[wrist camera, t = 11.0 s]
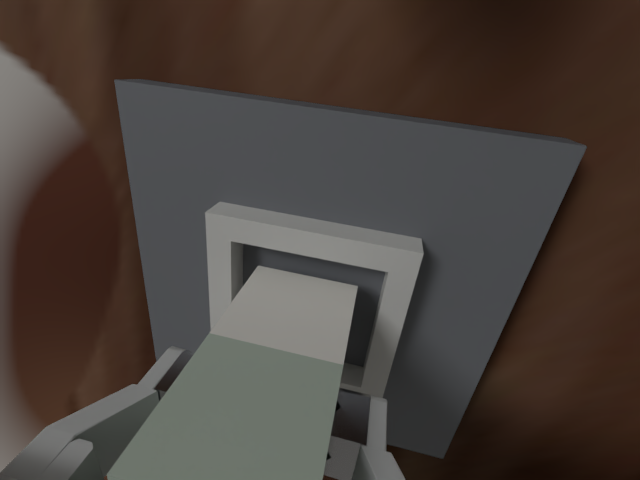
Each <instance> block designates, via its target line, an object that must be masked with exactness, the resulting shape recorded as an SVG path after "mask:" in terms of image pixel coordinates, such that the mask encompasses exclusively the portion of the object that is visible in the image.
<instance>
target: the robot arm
mask: <svg viewBox="0 0 640 480" xmlns="http://www.w3.org/2000/svg"><path fill="white" fill-rule="evenodd" d="M194 353H195V352H193V351H189V350H185V349H182V348H178V347H174V346H172V347H170V348H168V349H167V350H166V351H165V352H164V354H163V355H162V356H161V357H160V358H159V360H158V361H157V362H156V363H155V364H154V365H153V367H152V368H151V369H150V370H149V371H148V373H147V374H146V375H145V376H144V377H143V379H142V380H141V381H140V382H139V383H138V385H135V384H132V385H130V386H128V387H126V388H124V389H122V390H120V391H118V392H116V393H114V394H112V395H110V396H108V397H106V398H103V399H101V400H99V401H97V402H95V403H93V404H91V405H89V406H87V407H85V408H83V409H81V410H79V411H77V412H75V413H73V414H71V415H69V416H67V417H65V418H63V419H61V420H59V421H57V422H55V423H53V424H51V425H49V426H47V427H46V428H44V430H42V431H41V433H39V434H38V435H37V436H36V437H35V438H34V439H33V440H32V442H31V443H30V444H28V445H27V446H26V447H25V448H24V450H22V451H21V452H20V453H19V455H17V457H16V458H14V459H13V461H12V462H11V463H9V464H8V465H7V466H6V468H5V469H3V470H2V472H1V473H0V480H104V476H106V475H107V473H108V472H109V471H110V469H111V468H112V467H113V465H114V464H115V462H116V461H117V460H118V458H119V457H120V455H121V454H122V453H123V451H124V450H125V449H126V447H127V446H128V444H129V443H130V442H131V440H132V439H133V438H134V436H135V435H136V433H137V432H138V431H139V429H140V428H141V427H142V425H143V424H144V422H145V421H146V420H147V418H148V417H149V415H150V414H151V413H152V411H153V410H154V409H155V407H156V406H157V404H158V403H159V402H160V400H161V399H162V398H163V396H164V395H165V393H166V392H167V391H168V389H169V388H170V386H171V385H172V384H173V382H174V381H175V380H176V378H177V377H178V375H179V374H180V373H181V371H182V370H183V369H184V367H185V366H186V364H187V363H188V362H189V360H190V359H191V357H192V356H193V355H194ZM387 406H388V402H387V399H384V398H380V397H376V396H372V395H369V394H365V393H360V392H356V391H352V390H347V389H343V388H339V392H338V398H337V403H336V409H335V414H334V420H333V425H332V430H331V436H330V441H329V447H328V452H327V458H326V463H325V469H324V474H323V475H326V476H329V477H332V478H335V479H339V480H406V479H405V477H404V476H403V474H402V472H401V470H400V468H399V466H398V464H397V462H396V461H395V459H394V457H393V455H392V453H390V452H387V451H386V446H387Z"/></svg>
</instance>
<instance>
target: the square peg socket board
mask: <svg viewBox="0 0 640 480" xmlns="http://www.w3.org/2000/svg"><path fill="white" fill-rule="evenodd" d="M114 81H115V88H116V94H117V101H118V108H119V114H120V121H121V128H122V135H123V141H124V148H125V155H126V161H127V168H128V175H129V181H130V188H131V195H132V201H133V208H134V215H135V221H136V228H137V235H138V241H139V248H140V255H141V262H142V268H143V275H144V282H145V288H146V295H147V302H148V308H149V315H150V322H151V328H152V335H153V342H154V348H155V355H156V362H157V361H158V360H159V358H160V357H161V356H162V355H163V354H164V352H165V351H166V350H167V349H168V348H170V347H172V346H174V347H178V348H182V349H185V350H189V351H193V352H196V351H197V349H198V348H199V346H200V345H201V344H202V342H203V341H204V340H205V338H206V337H207V335H208V334H209V333H210V331H211V330H212V328H213V327H214V326H215V324H216V323H217V322H218V320H219V319H220V317H221V316H222V315H223V313H224V312H225V311H226V309H227V308H228V306H229V305H230V304H231V302H232V301H233V300H234V298H235V297H236V295H237V294H238V293H239V291H240V290H241V288H242V287H243V286H244V284H245V283H246V282H247V280H248V279H249V277H250V276H251V275H252V273H253V272H254V271H255V269H256V268H257V266H263V267H268V268H273V269H278V270H283V271H287V272H292V273H297V274H302V275H307V276H312V277H317V278H321V279H326V280H331V281H336V282H341V283H346V284H351V285H355V286H358V288H357V294H356V299H355V305H354V310H353V316H352V321H351V327H350V332H349V337H348V343H347V348H346V354H345V359H344V365H343V370H342V376H341V381H340V387H339V388H343V389H347V390H352V391H356V392H360V393H365V394H369V395H372V396H376V397H380V398H384V399H387V402H388V406H387V444H388V445H392V446H396V447H400V448H403V449H407V450H411V451H415V452H419V453H422V454H426V455H430V456H434V457H438V458H441V459H443V458H444V456H445V454H446V451H447V449H448V447H449V445H450V443H451V441H452V438H453V436H454V434H455V432H456V430H457V427H458V425H459V423H460V421H461V419H462V417H463V414H464V412H465V410H466V408H467V406H468V404H469V401H470V399H471V397H472V395H473V393H474V391H475V388H476V386H477V384H478V382H479V380H480V378H481V375H482V373H483V371H484V369H485V367H486V365H487V362H488V360H489V358H490V356H491V354H492V352H493V349H494V347H495V345H496V343H497V341H498V339H499V336H500V334H501V332H502V330H503V328H504V325H505V323H506V321H507V319H508V317H509V315H510V312H511V310H512V308H513V306H514V304H515V302H516V299H517V297H518V295H519V293H520V291H521V289H522V286H523V284H524V282H525V280H526V278H527V276H528V273H529V271H530V269H531V267H532V265H533V263H534V260H535V258H536V256H537V254H538V252H539V250H540V247H541V245H542V243H543V241H544V239H545V237H546V234H547V232H548V230H549V228H550V226H551V223H552V221H553V219H554V217H555V215H556V213H557V210H558V208H559V206H560V204H561V202H562V200H563V197H564V195H565V193H566V191H567V189H568V187H569V184H570V182H571V180H572V178H573V176H574V174H575V171H576V169H577V167H578V165H579V163H580V161H581V158H582V156H583V154H584V152H585V150H586V148H587V146H585V145H583V144H580V143H577V142H575V141H572V140H569V139H567V138H561V137H554V136H547V135H539V134H532V133H525V132H518V131H511V130H503V129H496V128H489V127H482V126H475V125H467V124H460V123H453V122H446V121H439V120H431V119H424V118H417V117H410V116H403V115H395V114H388V113H381V112H374V111H366V110H359V109H352V108H345V107H338V106H330V105H323V104H316V103H309V102H302V101H294V100H287V99H280V98H273V97H266V96H258V95H251V94H244V93H237V92H230V91H222V90H215V89H208V88H201V87H193V86H186V85H179V84H172V83H165V82H157V81H150V80H143V79H129V80H114Z"/></svg>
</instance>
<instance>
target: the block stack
mask: <svg viewBox="0 0 640 480" xmlns="http://www.w3.org/2000/svg"><path fill="white" fill-rule="evenodd" d="M357 288H358V286H355V285H351V284H346V283H341V282H336V281H331V280H326V279H321V278H317V277H312V276H307V275H302V274H297V273H292V272H287V271H283V270H278V269H273V268H268V267H263V266H257V268H256V269H255V271H254V272H253V273H252V275H251V276H250V277H249V279H248V280H247V282H246V283H245V284H244V286H243V287H242V288H241V290H240V291H239V293H238V294H237V295H236V297H235V298H234V300H233V301H232V302H231V304H230V305H229V306H228V308H227V309H226V311H225V312H224V313H223V315H222V316H221V317H220V319H219V320H218V322H217V323H216V324H215V326H214V327H213V328H212V330H211V331H210V333H209V334H208V335H207V337H206V338H205V340H204V341H203V342H202V344H201V345H200V346H199V348H198V349H197V351H196V352H195V353H194V355H193V356H192V357H191V359H190V360H189V362H188V363H187V364H186V366H185V367H184V369H183V370H182V371H181V373H180V374H179V375H178V377H177V378H176V380H175V381H174V382H173V384H172V385H171V386H170V388H169V389H168V391H167V392H166V393H165V395H164V396H163V398H162V399H161V400H160V402H159V403H158V404H157V406H156V407H155V409H154V410H153V411H152V413H151V414H150V415H149V417H148V418H147V420H146V421H145V422H144V424H143V425H142V427H141V428H140V429H139V431H138V432H137V433H136V435H135V436H134V438H133V439H132V440H131V442H130V443H129V444H128V446H127V447H126V449H125V450H124V451H123V453H122V454H121V455H120V457H119V458H118V460H117V461H116V462H115V464H114V465H113V467H112V468H111V469H110V471H109V472H108V473H107V477H108V480H323V474H324V469H325V463H326V458H327V452H328V447H329V441H330V436H331V430H332V425H333V420H334V414H335V409H336V403H337V398H338V392H339V387H340V381H341V376H342V370H343V365H344V359H345V354H346V348H347V343H348V337H349V332H350V327H351V321H352V316H353V310H354V305H355V299H356V294H357Z"/></svg>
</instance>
